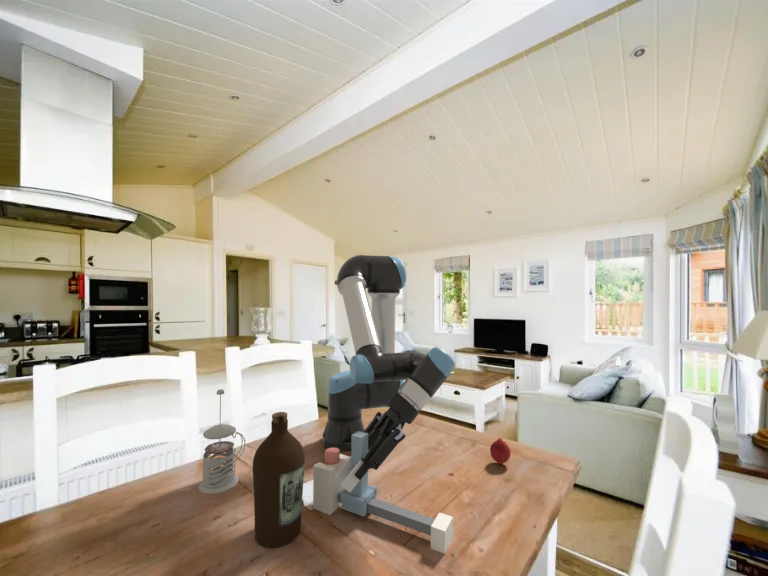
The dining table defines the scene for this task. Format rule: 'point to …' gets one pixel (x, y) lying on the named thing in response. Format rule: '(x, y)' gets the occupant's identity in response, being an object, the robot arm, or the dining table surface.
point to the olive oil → (278, 485)
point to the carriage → (362, 490)
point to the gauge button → (332, 456)
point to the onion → (500, 451)
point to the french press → (219, 476)
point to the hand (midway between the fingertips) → (343, 482)
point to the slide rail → (378, 507)
